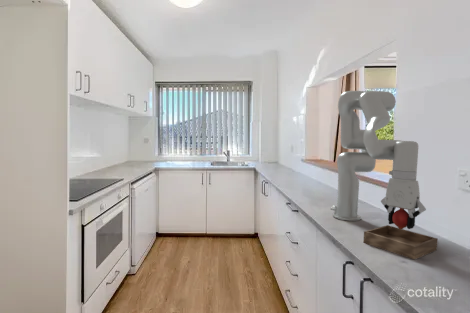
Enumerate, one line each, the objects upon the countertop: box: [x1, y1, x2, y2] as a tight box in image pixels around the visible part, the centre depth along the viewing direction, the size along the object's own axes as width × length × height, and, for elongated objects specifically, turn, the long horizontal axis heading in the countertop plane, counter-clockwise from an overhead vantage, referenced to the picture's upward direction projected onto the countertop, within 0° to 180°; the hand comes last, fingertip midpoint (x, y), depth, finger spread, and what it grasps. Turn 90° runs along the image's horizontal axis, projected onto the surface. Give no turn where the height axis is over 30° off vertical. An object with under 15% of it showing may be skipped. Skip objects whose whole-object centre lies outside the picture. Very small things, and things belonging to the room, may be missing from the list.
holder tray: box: [362, 224, 439, 260], centre depth 111 cm, size 18×16×4 cm
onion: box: [392, 208, 409, 229], centre depth 110 cm, size 6×6×8 cm
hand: (400, 225), depth 110 cm, fingers closed on onion, 5 cm apart
